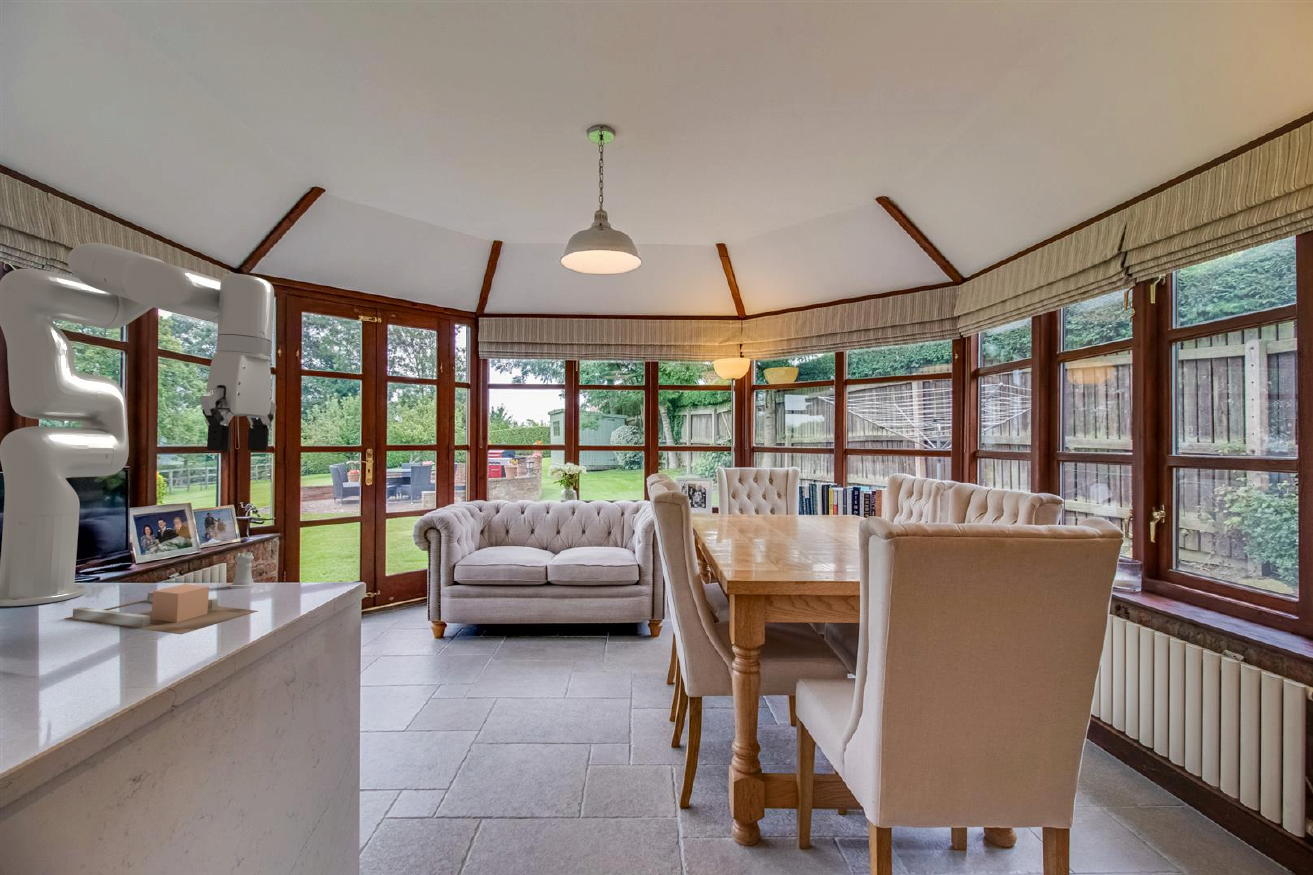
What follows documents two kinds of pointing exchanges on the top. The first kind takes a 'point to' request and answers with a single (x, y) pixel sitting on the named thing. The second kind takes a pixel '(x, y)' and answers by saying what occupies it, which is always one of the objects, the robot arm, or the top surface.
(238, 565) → the rook chess piece
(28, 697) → the top surface
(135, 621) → the tan rectangular frame
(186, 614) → the block
